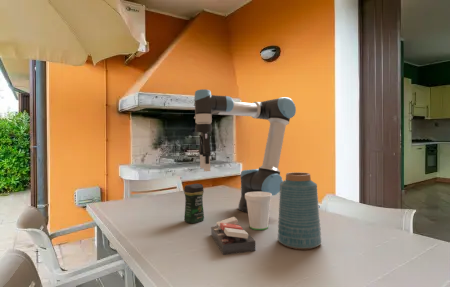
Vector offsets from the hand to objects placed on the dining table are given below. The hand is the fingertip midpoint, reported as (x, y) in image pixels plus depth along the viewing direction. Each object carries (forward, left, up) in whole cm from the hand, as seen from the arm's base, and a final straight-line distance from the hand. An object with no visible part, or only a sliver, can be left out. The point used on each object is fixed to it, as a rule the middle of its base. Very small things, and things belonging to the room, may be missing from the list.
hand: (205, 169), depth 126 cm
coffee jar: (+4, -12, -27) cm, 30 cm away
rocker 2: (-6, +21, -21) cm, 31 cm away
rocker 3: (-6, +28, -21) cm, 35 cm away
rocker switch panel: (-6, +18, -27) cm, 33 cm away
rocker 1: (-6, +15, -21) cm, 26 cm away
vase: (-31, +29, -27) cm, 51 cm away
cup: (-23, +7, -27) cm, 36 cm away
